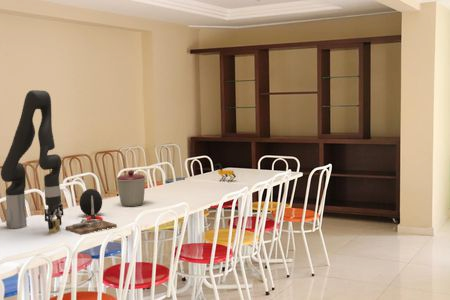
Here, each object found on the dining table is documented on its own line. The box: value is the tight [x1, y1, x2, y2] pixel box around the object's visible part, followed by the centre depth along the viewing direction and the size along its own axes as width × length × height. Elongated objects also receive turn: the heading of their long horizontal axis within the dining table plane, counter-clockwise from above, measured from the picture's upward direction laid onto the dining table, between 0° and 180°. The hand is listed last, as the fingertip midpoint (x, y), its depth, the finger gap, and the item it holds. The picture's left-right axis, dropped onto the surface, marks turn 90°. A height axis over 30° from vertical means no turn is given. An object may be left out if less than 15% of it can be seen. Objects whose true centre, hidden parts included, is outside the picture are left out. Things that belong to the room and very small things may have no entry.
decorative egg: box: [79, 188, 103, 217], centre depth 332 cm, size 12×12×15 cm
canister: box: [115, 169, 147, 207], centre depth 358 cm, size 18×18×21 cm
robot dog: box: [213, 162, 237, 183], centre depth 439 cm, size 6×18×13 cm, turn 55°
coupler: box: [48, 218, 61, 234], centre depth 296 cm, size 4×4×6 cm
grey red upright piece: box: [86, 196, 104, 221], centre depth 319 cm, size 8×13×9 cm
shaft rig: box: [65, 218, 118, 236], centre depth 301 cm, size 20×16×4 cm
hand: (55, 227), depth 296 cm, fingers open, 8 cm apart
